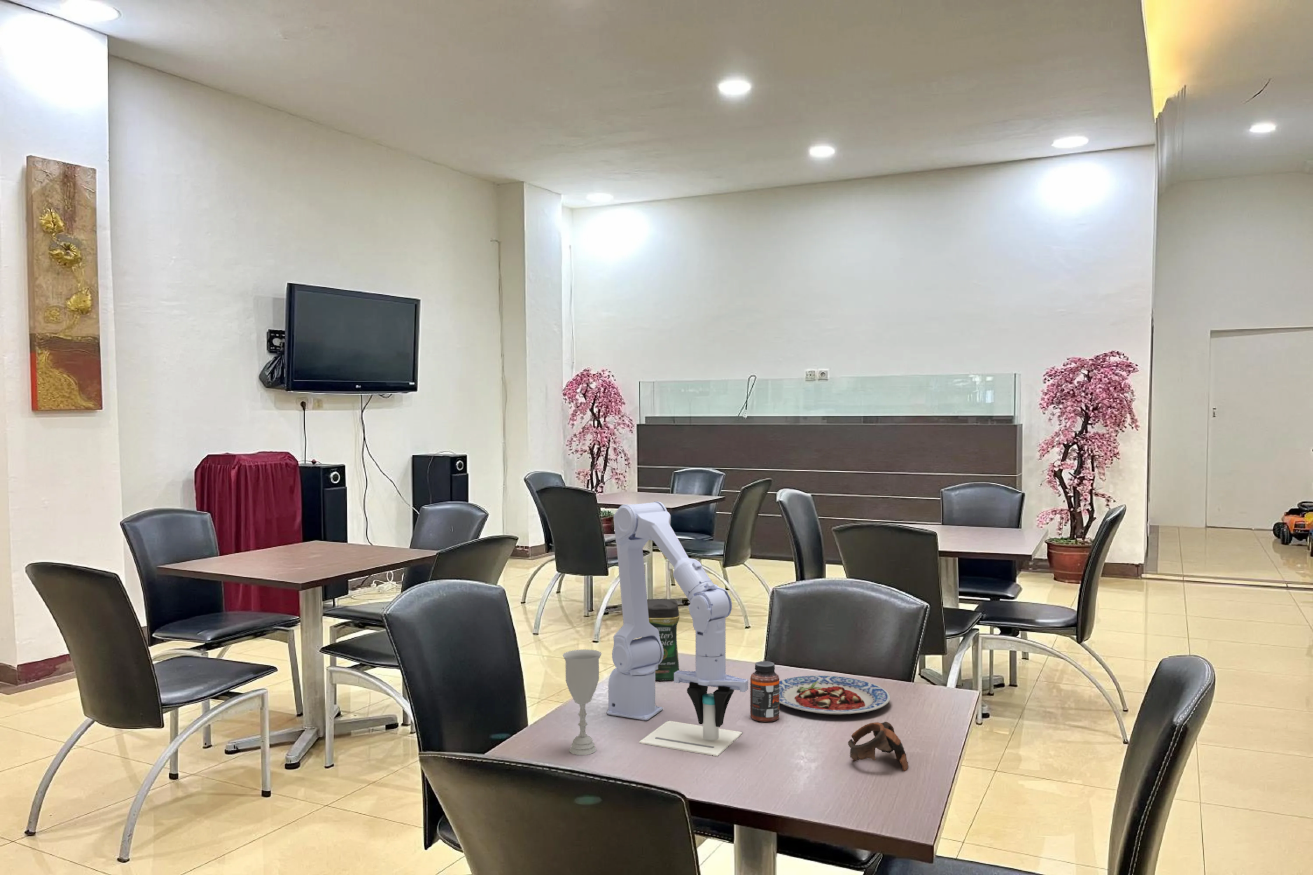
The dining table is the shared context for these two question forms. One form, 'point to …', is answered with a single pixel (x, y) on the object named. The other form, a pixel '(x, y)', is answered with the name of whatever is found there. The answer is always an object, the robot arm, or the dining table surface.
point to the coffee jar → (665, 634)
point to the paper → (689, 738)
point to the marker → (709, 718)
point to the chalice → (582, 691)
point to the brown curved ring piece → (877, 743)
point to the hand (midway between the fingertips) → (710, 723)
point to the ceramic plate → (831, 694)
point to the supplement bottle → (764, 692)
